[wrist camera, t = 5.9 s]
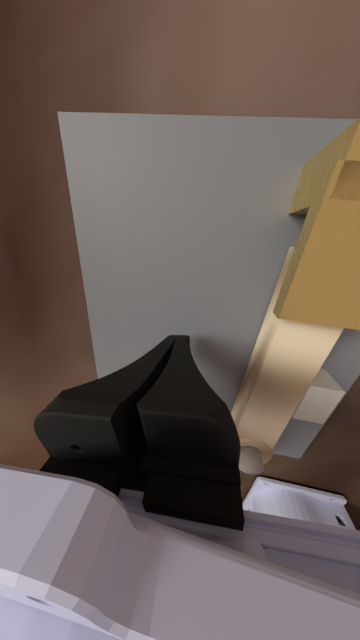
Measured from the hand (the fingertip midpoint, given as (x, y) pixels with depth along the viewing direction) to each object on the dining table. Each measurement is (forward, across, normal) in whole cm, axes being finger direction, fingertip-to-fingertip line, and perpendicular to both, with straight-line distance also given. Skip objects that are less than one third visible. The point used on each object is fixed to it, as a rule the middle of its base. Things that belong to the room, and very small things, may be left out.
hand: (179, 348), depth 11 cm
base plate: (+2, -2, 0) cm, 4 cm away
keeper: (+1, -8, -6) cm, 10 cm away
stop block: (+3, -9, +4) cm, 10 cm away
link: (+1, -6, +3) cm, 7 cm away
